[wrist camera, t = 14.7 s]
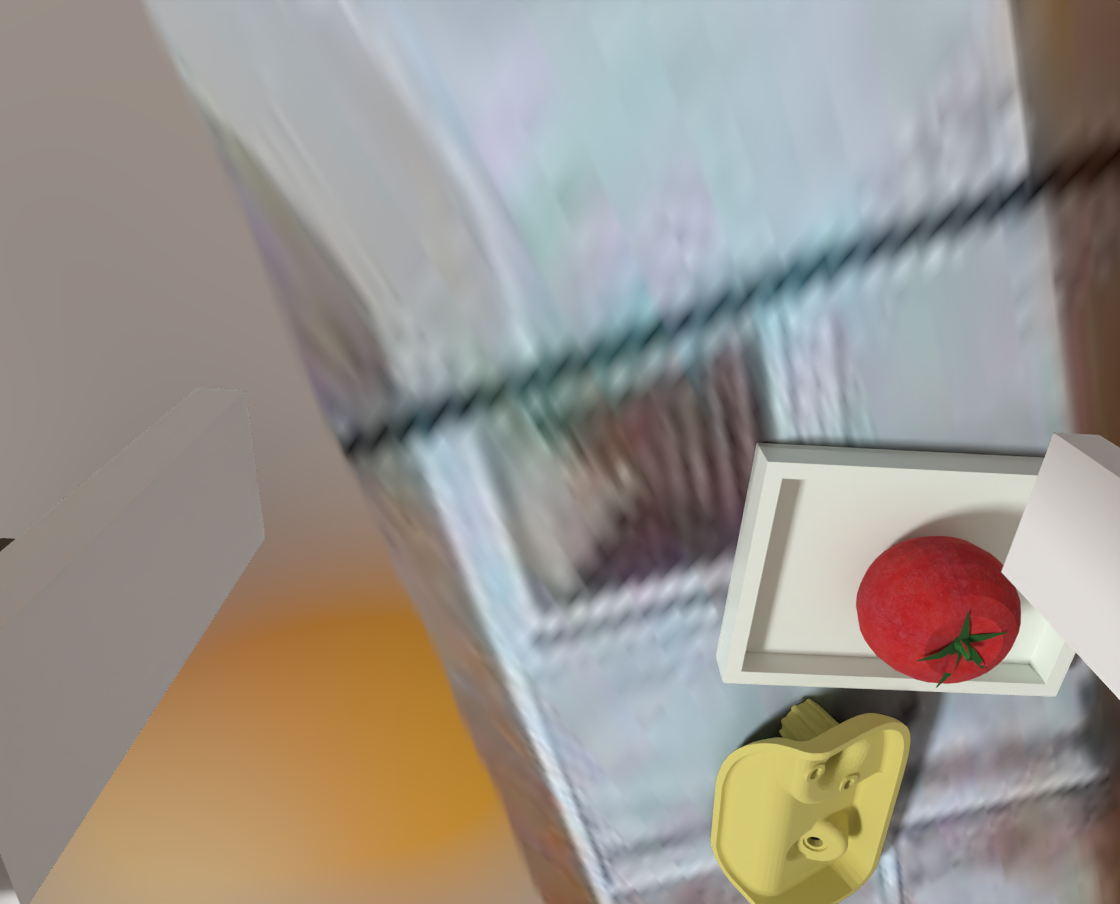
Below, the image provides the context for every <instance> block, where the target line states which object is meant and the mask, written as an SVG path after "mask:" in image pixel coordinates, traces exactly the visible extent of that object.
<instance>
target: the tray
mask: <svg viewBox="0 0 1120 904" xmlns="http://www.w3.org/2000/svg"><path fill="white" fill-rule="evenodd" d="M1043 460H1044V458H1043V457H1024V456H1004V455H985V454H966V453H946V452H927V451H908V450H888V449H869V448H850V447H830V446H811V445H792V444H772V443H757V444H756V450H755V455H754V460H753V465H752V470H751V476H750V481H749V486H748V491H747V497H746V502H745V507H744V512H743V517H742V523H741V528H740V533H739V538H738V544H737V549H736V554H735V559H734V564H733V570H732V575H731V580H730V585H729V591H728V596H727V601H726V606H725V612H724V617H723V622H722V627H721V632H720V638H719V643H718V648H717V653H716V659H717V662H718V666H719V669H720V673H721V676H722V680H723V683H737V684H761V685H785V686H810V687H834V688H858V689H883V690H907V691H931V692H956V693H980V694H1004V695H1029V696H1053V697H1056V695H1057V693H1058V690H1059V688H1060V686H1061V684H1062V682H1063V679H1064V677H1065V675H1066V673H1067V671H1068V668H1069V666H1070V664H1071V662H1072V660H1073V657H1074V655H1075V653H1076V652H1075V651H1074V650H1073V649H1072V648H1071V647H1070V646H1069V644H1068V643H1067V642H1066V641H1065V640H1064V639H1063V638H1062V637H1061V636H1060V635H1059V634H1058V633H1057V632H1056V630H1055V629H1054V628H1053V627H1052V626H1051V625H1050V624H1049V623H1048V622H1047V621H1046V620H1045V619H1044V618H1043V616H1042V615H1041V614H1040V613H1039V612H1038V611H1037V610H1036V609H1035V608H1034V607H1033V606H1032V605H1031V604H1030V602H1029V601H1028V600H1027V599H1026V598H1025V597H1024V596H1023V595H1022V594H1021V593H1020V592H1019V591H1018V589H1017V588H1016V590H1017V592H1018V595H1019V598H1020V603H1021V624H1020V629H1019V633H1018V636H1017V638H1016V640H1015V642H1014V644H1013V647H1012V649H1011V650H1010V652H1009V653H1008V654H1007V656H1006V657H1005V658H1004V659H1003V660H1002V661H1001V662H1000V663H999V664H998V665H997V666H996V667H994V668H993V669H992V670H990V671H989V672H987V674H986V673H985V674H983V675H981V676H979V677H977V678H974V679H971V680H969V681H964V682H960V683H951V684H943V683H942V684H940V685H939V686H938V687H937V688H936V686H937V685H938V683H929V682H924V681H920V680H916V679H914V678H911V677H909V676H907V675H904V674H902V673H900V672H898V671H896V670H894V669H893V668H892V667H890V666H889V665H888V664H886V663H885V662H884V661H883V660H881V659H880V658H879V657H878V656H877V655H876V654H875V653H874V652H873V651H872V650H871V648H870V647H869V646H868V644H867V643H866V641H865V640H864V638H863V636H862V633H861V631H860V628H859V622H858V616H857V610H856V597H857V592H858V589H859V586H860V583H861V581H862V579H863V577H864V575H865V573H866V571H867V569H868V568H869V566H870V565H871V564H872V563H873V561H874V560H875V559H876V558H877V557H878V556H879V555H881V554H882V553H883V552H884V551H885V550H887V549H889V548H890V547H892V546H894V545H895V544H898V543H900V542H902V541H905V540H908V539H912V538H916V537H923V536H948V537H955V538H959V539H963V540H966V541H968V542H970V543H972V544H974V545H976V546H978V547H980V548H982V549H983V550H985V551H987V552H989V553H991V554H992V555H993V556H994V557H996V558H997V559H998V560H999V561H1000V562H1001V563H1002V564H1003V566H1004V564H1005V561H1006V558H1007V556H1008V553H1009V550H1010V548H1011V545H1012V542H1013V540H1014V537H1015V534H1016V532H1017V529H1018V527H1019V524H1020V521H1021V519H1022V516H1023V513H1024V511H1025V508H1026V505H1027V503H1028V500H1029V497H1030V495H1031V492H1032V490H1033V487H1034V484H1035V482H1036V479H1037V476H1038V474H1039V471H1040V468H1041V466H1042V463H1043Z"/></svg>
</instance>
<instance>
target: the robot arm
mask: <svg viewBox="0 0 1120 904" xmlns="http://www.w3.org/2000/svg"><path fill="white" fill-rule="evenodd" d="M264 539H265V533H264V525H263V517H262V509H261V502H260V495H259V486H258V478H257V471H256V463H255V455H254V447H253V440H252V432H251V425H250V417H249V409H248V401H247V394H246V390H234V389H216V388H196V389H195V390H194V391H192V392H191V393H190V394H189V395H188V396H186V397H185V398H184V399H183V400H182V401H180V402H179V403H178V404H177V405H176V406H174V407H173V408H172V409H171V410H170V411H168V412H167V413H166V414H165V415H164V416H162V417H161V418H160V419H159V420H158V421H156V422H155V423H154V424H153V425H152V426H150V427H149V428H148V429H147V430H146V431H144V432H143V433H142V434H141V435H140V436H139V437H137V438H136V439H135V440H134V441H132V442H131V443H130V444H129V445H128V446H126V447H125V448H124V449H123V450H122V451H120V452H119V453H118V454H117V455H116V456H115V457H113V458H112V459H111V460H110V461H108V462H107V463H106V464H105V465H104V466H102V467H101V468H100V469H99V470H98V471H97V472H95V473H94V474H93V475H92V476H91V477H89V478H88V479H87V480H86V481H84V482H83V483H82V484H81V485H80V486H78V487H77V488H76V489H75V490H74V491H72V492H71V493H70V494H69V495H68V496H66V497H65V498H64V499H63V500H62V501H60V502H59V503H58V504H57V505H56V506H55V507H53V508H52V509H51V510H50V511H49V512H47V513H46V514H45V515H44V516H42V517H41V518H40V519H39V520H38V521H36V522H35V523H34V524H33V525H32V526H30V527H29V528H28V529H27V530H26V531H25V532H23V533H22V534H21V535H20V536H18V537H17V538H16V539H6V538H1V539H0V904H29V903H30V902H31V900H32V899H33V897H34V896H35V894H36V892H37V891H38V889H39V888H40V886H41V884H42V883H43V882H44V880H45V878H46V877H47V875H48V874H49V872H50V871H51V869H52V868H53V866H54V864H55V863H56V861H57V860H58V858H59V857H60V855H61V854H62V852H63V851H64V849H65V847H66V846H67V844H68V843H69V841H70V840H71V838H72V837H73V835H74V833H75V832H76V830H77V829H78V827H79V826H80V824H81V823H82V821H83V820H84V818H85V816H86V815H87V813H88V812H89V810H90V809H91V807H92V806H93V804H94V803H95V801H96V799H97V798H98V796H99V794H100V793H101V792H102V790H103V789H104V787H105V785H106V784H107V782H108V781H109V779H110V778H111V776H112V775H113V773H114V771H115V770H116V768H117V767H118V765H119V764H120V762H121V761H122V759H123V758H124V756H125V754H126V753H127V751H128V750H129V748H130V747H131V745H132V743H133V742H134V740H135V739H136V737H137V736H138V734H139V733H140V731H141V730H142V728H143V726H144V725H145V723H146V722H147V720H148V719H149V717H150V716H151V714H152V712H153V711H154V709H155V708H156V706H157V705H158V703H159V702H160V700H161V698H162V697H163V695H164V694H165V692H166V691H167V689H168V688H169V686H170V684H171V683H172V682H173V680H174V678H175V677H176V675H177V674H178V672H179V671H180V669H181V668H182V666H183V664H184V663H185V661H186V660H187V658H188V657H189V655H190V654H191V652H192V651H193V649H194V647H195V646H196V644H197V643H198V641H199V640H200V638H201V637H202V635H203V633H204V632H205V630H206V629H207V627H208V626H209V624H210V622H211V621H212V619H213V618H214V616H215V615H216V613H217V611H218V610H219V609H220V607H221V605H222V604H223V602H224V601H225V599H226V598H227V596H228V595H229V593H230V591H231V590H232V588H233V587H234V585H235V584H236V582H237V580H238V579H239V578H240V576H241V574H242V573H243V571H244V570H245V568H246V567H247V565H248V564H249V562H250V561H251V559H252V557H253V556H254V554H255V553H256V551H257V549H258V548H259V546H260V545H261V543H262V542H263V540H264ZM1002 573H1003V574H1004V575H1005V577H1006V578H1007V579H1008V580H1009V581H1010V582H1011V583H1012V584H1013V585H1014V586H1015V587H1016V588H1017V589H1018V591H1019V592H1020V593H1021V594H1022V595H1023V596H1024V597H1025V598H1026V599H1027V600H1028V601H1029V602H1030V604H1031V605H1032V606H1033V607H1034V608H1035V609H1036V610H1037V611H1038V612H1039V613H1040V614H1041V615H1042V616H1043V618H1044V619H1045V620H1046V621H1047V622H1048V623H1049V624H1050V625H1051V626H1052V627H1053V628H1054V629H1055V630H1056V632H1057V633H1058V634H1059V635H1060V636H1061V637H1062V638H1063V639H1064V640H1065V641H1066V642H1067V643H1068V644H1069V646H1070V647H1071V648H1072V649H1073V650H1074V651H1075V652H1076V653H1077V654H1078V655H1079V656H1080V657H1081V658H1082V660H1083V661H1084V662H1085V663H1086V664H1087V665H1088V666H1089V667H1090V668H1091V669H1092V670H1093V671H1094V672H1095V674H1096V675H1097V676H1098V677H1099V678H1100V679H1101V680H1102V681H1103V682H1104V683H1105V684H1106V685H1107V686H1108V688H1109V689H1110V690H1111V691H1112V692H1113V693H1114V694H1115V695H1116V696H1117V697H1118V698H1119V699H1120V448H1119V447H1117V446H1116V445H1114V444H1113V443H1111V442H1109V441H1108V440H1106V439H1105V438H1103V437H1101V436H1100V435H1087V434H1068V433H1054V434H1053V437H1052V439H1051V442H1050V445H1049V447H1048V450H1047V452H1046V455H1045V458H1044V460H1043V463H1042V466H1041V468H1040V471H1039V474H1038V476H1037V479H1036V482H1035V484H1034V487H1033V490H1032V492H1031V495H1030V497H1029V500H1028V503H1027V505H1026V508H1025V511H1024V513H1023V516H1022V519H1021V521H1020V524H1019V527H1018V529H1017V532H1016V534H1015V537H1014V540H1013V542H1012V545H1011V548H1010V550H1009V553H1008V556H1007V558H1006V561H1005V564H1004V566H1003V569H1002Z"/></svg>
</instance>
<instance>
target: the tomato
mask: <svg viewBox="0 0 1120 904" xmlns="http://www.w3.org/2000/svg"><path fill="white" fill-rule="evenodd" d="M1002 569H1003V564H1002V563H1001V562H1000V561H999V560H998V559H997V558H996V557H994V556H993V555H992V554H991V553H989V552H987V551H985V550H983V549H982V548H980V547H978V546H976V545H974V544H972V543H970V542H968V541H966V540H963V539H959V538H955V537H948V536H923V537H916V538H912V539H908V540H905V541H902V542H900V543H898V544H895V545H894V546H892V547H890V548H889V549H887V550H885V551H884V552H883V553H882V554H881V555H879V556H878V557H877V558H876V559H875V560H874V561H873V563H872V564H871V565H870V566H869V568H868V569H867V571H866V573H865V575H864V577H863V579H862V581H861V583H860V586H859V589H858V592H857V597H856V610H857V616H858V622H859V628H860V631H861V633H862V636H863V638H864V640H865V641H866V643H867V644H868V646H869V647H870V648H871V650H872V651H873V652H874V653H875V654H876V655H877V656H878V657H879V658H880V659H881V660H883V661H884V662H885V663H886V664H888V665H889V666H890V667H892V668H893V669H894V670H896V671H898V672H900V673H902V674H904V675H907V676H909V677H911V678H914V679H916V680H920V681H924V682H929V683H938V685H937V686H936V688H937V687H938V686H939V685H940V684H942V683H943V684H951V683H960V682H964V681H969V680H971V679H974V678H977V677H979V676H981V675H983V674H985V673H986V674H987V672H989V671H990V670H992V669H993V668H994V667H996V666H997V665H998V664H999V663H1000V662H1001V661H1002V660H1003V659H1004V658H1005V657H1006V656H1007V654H1008V653H1009V652H1010V650H1011V649H1012V647H1013V644H1014V642H1015V640H1016V638H1017V636H1018V633H1019V629H1020V624H1021V603H1020V598H1019V595H1018V592H1017V590H1016V587H1015V586H1014V585H1013V584H1012V583H1011V582H1010V581H1009V580H1008V579H1007V578H1006V577H1005V575H1004V574H1003V573H1002Z"/></svg>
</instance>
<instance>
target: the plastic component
mask: <svg viewBox="0 0 1120 904" xmlns="http://www.w3.org/2000/svg"><path fill="white" fill-rule="evenodd" d="M791 709H792V710H791V711H790V712H789V713H788V715H787V716H786V717H784V718H782V720H781V723H782V724H783V725H782V729H781V730H780V731H779V733H780V735H781V736H782V737H783V738H778V737H775V738H769V739H764V740H759V741H755V742H752V743H749V744H747V745H745V746H743V747H741V748H739V749H737V750H735V751H734V752H733V753H731V754H730V755H729V756H728V757H727V758H726V760H725V761H724V763H723V764H722V766H721V768H720V770H719V773H718V777H717V780H716V788H715V799H714V810H713V821H712V831H711V846H712V850H713V853H714V855H715V858H716V860H717V862H718V864H719V866H720V867H721V869H722V870H723V872H724V874H725V875H726V876H727V878H728V879H729V880H730V882H731V883H732V884H733V885H734V886H735V887H736V888H737V889H738V890H739V891H740V892H741V893H742V894H743V896H744V897H745V898H746V899H747V900H748V901H749V902H750V903H751V904H838V903H839V902H841V901H842V900H844V899H846V898H847V897H849V896H850V895H852V894H853V893H854V892H856V891H857V890H858V889H859V888H860V887H861V886H862V885H864V883H865V882H866V881H867V880H868V879H869V878H870V876H871V875H872V874H873V872H874V871H875V869H876V867H877V865H878V862H879V859H880V855H881V852H882V848H883V845H884V841H885V838H886V834H887V831H888V827H889V824H890V820H891V817H892V813H893V810H894V806H895V803H896V799H897V796H898V792H899V789H900V785H901V782H902V778H903V775H904V771H905V767H906V763H907V759H908V755H909V750H910V742H911V740H910V732H909V729H908V728H907V727H906V726H905V725H904V724H903V723H902V722H900V721H899V720H897V719H895V718H892V717H889V716H886V715H882V714H877V713H866V714H861V715H858V716H855V717H853V718H851V719H848V720H846V721H844V722H842V723H841V724H839V723H838V722H836V721H835V720H834V719H833V718H832V717H831V716H830V715H829V714H828V713H827V712H826V711H825V710H824V709H823V708H822V707H821V706H820V705H819V704H818V703H816V702H815V703H814V702H813V701H812V700H811V699H807V700H806V701H805V702H804V703H801V704H799V705H797V706H796V705H794V706H792V708H791ZM810 837H817V838H819V839H820V840H814V839H812V838H810Z"/></svg>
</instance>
